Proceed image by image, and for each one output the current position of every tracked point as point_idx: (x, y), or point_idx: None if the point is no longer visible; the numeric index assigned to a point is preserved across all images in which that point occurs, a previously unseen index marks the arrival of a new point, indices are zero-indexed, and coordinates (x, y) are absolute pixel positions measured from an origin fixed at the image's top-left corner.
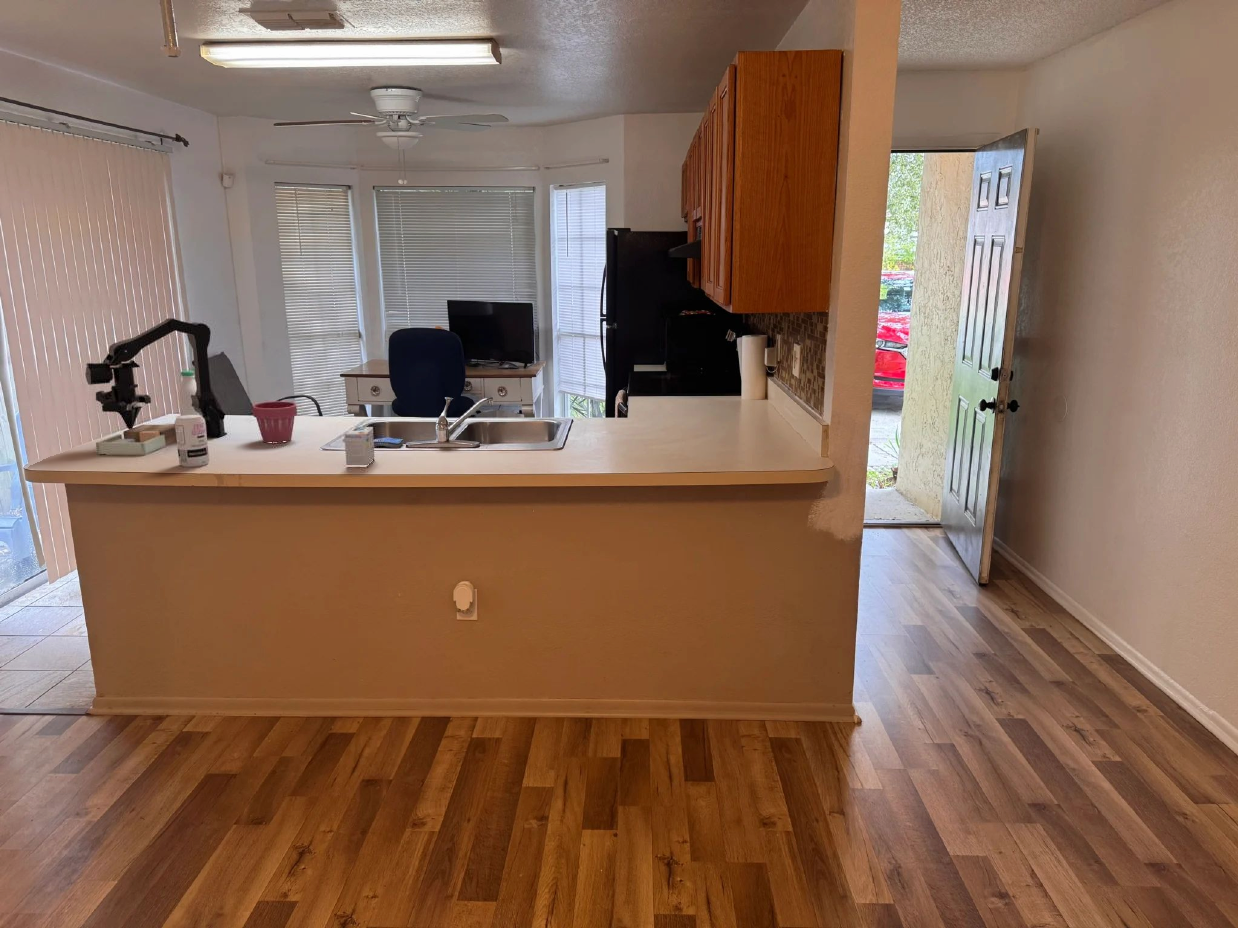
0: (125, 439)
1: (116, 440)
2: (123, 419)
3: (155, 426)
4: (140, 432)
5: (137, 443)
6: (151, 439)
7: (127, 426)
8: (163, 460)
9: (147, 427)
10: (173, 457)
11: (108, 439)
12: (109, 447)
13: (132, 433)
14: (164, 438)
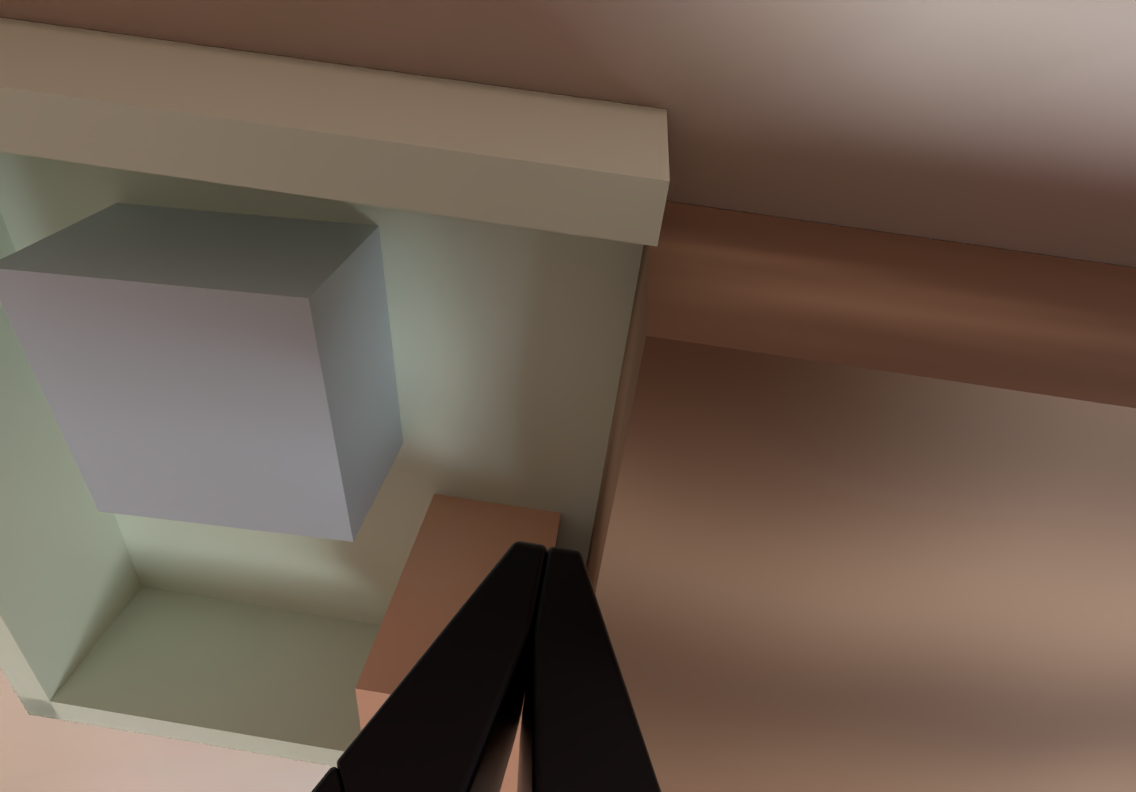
0: (285, 432)
1: (163, 310)
2: (327, 783)
3: (1134, 740)
4: (368, 701)
5: (5, 666)
6: (251, 744)
7: (484, 593)
8: (35, 719)
9: (1077, 656)
10: (149, 752)
11: (73, 158)
12: None
13: (613, 490)
14: None
